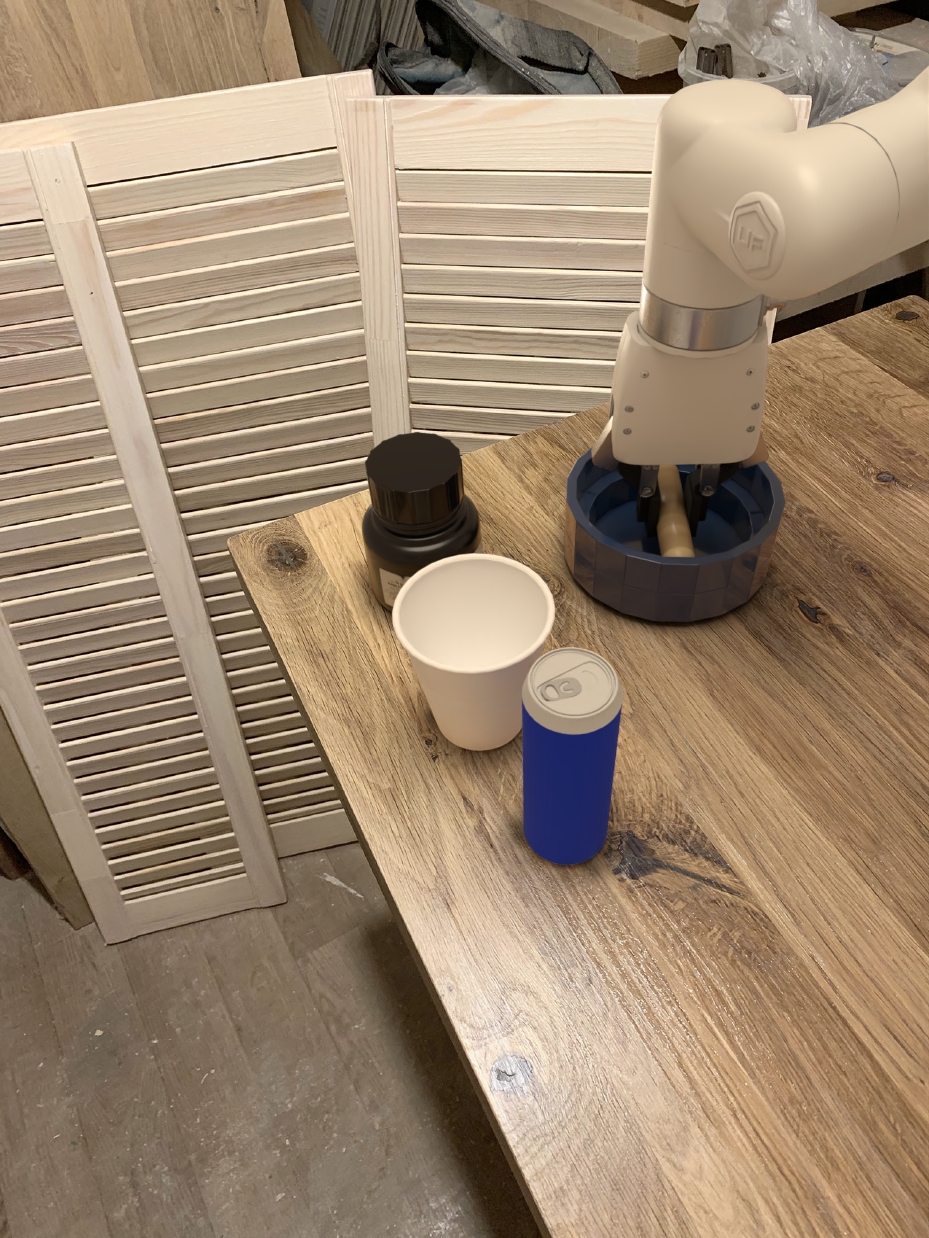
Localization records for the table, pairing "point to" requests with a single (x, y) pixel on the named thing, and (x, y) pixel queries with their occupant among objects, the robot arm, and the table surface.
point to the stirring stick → (673, 516)
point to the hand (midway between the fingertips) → (669, 524)
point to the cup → (474, 642)
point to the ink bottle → (415, 510)
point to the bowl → (632, 563)
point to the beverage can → (569, 753)
